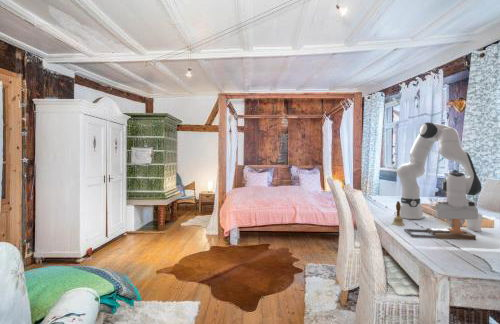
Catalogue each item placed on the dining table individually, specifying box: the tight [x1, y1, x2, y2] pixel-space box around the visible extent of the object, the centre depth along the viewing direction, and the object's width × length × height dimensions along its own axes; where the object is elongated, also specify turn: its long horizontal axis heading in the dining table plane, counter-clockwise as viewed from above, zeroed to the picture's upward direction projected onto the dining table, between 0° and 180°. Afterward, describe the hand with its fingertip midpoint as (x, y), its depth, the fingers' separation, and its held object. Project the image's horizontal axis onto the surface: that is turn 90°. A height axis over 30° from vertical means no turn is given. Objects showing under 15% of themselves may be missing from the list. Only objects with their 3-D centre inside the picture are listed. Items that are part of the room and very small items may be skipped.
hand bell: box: [390, 200, 405, 226], centre depth 183 cm, size 8×8×16 cm
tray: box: [403, 228, 437, 239], centre depth 161 cm, size 12×12×2 cm
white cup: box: [465, 212, 483, 232], centre depth 172 cm, size 8×8×10 cm
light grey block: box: [438, 228, 450, 233], centre depth 159 cm, size 4×4×3 cm
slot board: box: [426, 227, 477, 241], centre depth 158 cm, size 14×19×3 cm
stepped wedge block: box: [448, 219, 463, 234], centre depth 157 cm, size 5×5×10 cm
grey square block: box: [429, 227, 441, 235], centre depth 159 cm, size 4×4×3 cm
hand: (455, 226), depth 157 cm, fingers closed on stepped wedge block, 3 cm apart
